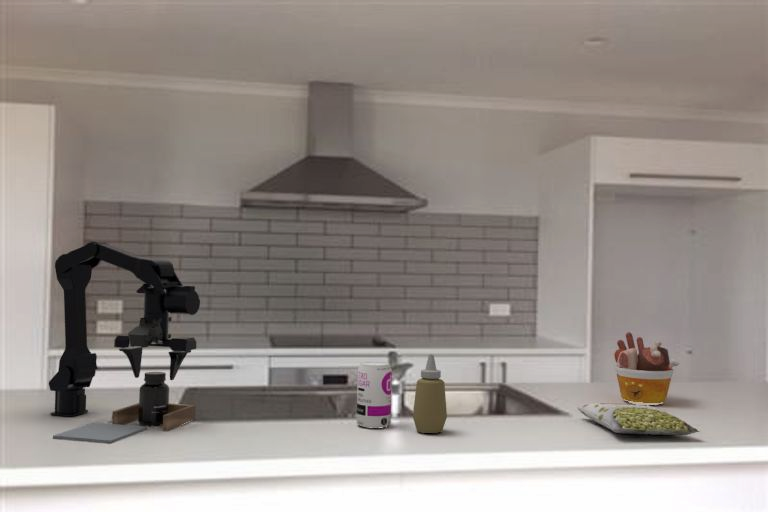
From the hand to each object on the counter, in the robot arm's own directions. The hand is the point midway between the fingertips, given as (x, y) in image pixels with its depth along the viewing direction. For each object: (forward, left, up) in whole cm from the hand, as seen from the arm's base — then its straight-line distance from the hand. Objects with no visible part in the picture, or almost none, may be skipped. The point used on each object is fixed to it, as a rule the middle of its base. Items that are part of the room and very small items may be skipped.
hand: (154, 378), depth 174 cm
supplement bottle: (0, 0, -11) cm, 11 cm away
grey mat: (-5, -13, -11) cm, 17 cm away
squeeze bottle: (+64, +13, -11) cm, 66 cm away
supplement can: (+50, +15, -11) cm, 53 cm away
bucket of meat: (+118, +73, -11) cm, 139 cm away
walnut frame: (0, 0, -11) cm, 11 cm away
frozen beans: (+111, +32, -11) cm, 116 cm away
